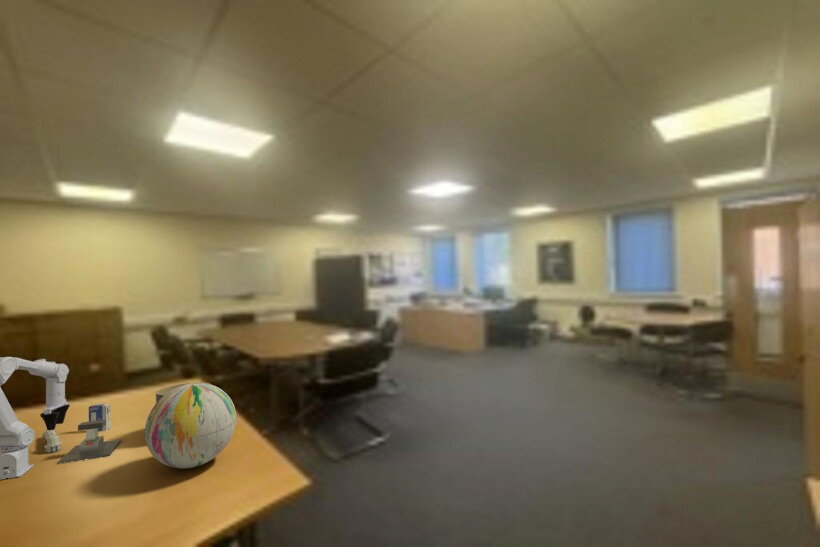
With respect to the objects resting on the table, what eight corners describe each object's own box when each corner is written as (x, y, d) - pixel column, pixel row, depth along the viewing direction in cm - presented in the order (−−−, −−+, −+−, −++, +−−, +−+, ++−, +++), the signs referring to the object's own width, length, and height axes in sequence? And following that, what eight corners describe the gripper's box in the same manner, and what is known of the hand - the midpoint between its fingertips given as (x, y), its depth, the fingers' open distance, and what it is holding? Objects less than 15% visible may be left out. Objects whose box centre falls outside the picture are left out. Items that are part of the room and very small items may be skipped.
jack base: (109, 456, 156) (109, 443, 157) (58, 464, 150) (58, 450, 151) (121, 441, 171) (121, 429, 171) (75, 447, 165) (75, 435, 165)
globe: (253, 457, 153) (252, 379, 154) (174, 493, 127) (173, 399, 128) (207, 442, 168) (206, 371, 169) (128, 472, 143) (127, 388, 143)
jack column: (102, 441, 161) (102, 422, 161) (77, 445, 158) (77, 425, 158) (105, 438, 164) (105, 419, 164) (81, 441, 161) (81, 422, 161)
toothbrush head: (56, 426, 180) (62, 432, 163) (56, 442, 180) (62, 449, 163) (40, 430, 177) (45, 436, 160) (40, 445, 176) (45, 453, 159)
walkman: (88, 432, 184) (88, 405, 184) (92, 429, 186) (92, 404, 187) (107, 430, 185) (107, 404, 185) (110, 428, 187) (110, 403, 188)
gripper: (59, 396, 157) (59, 431, 156) (75, 387, 170) (75, 419, 170) (37, 398, 154) (37, 434, 154) (54, 389, 167) (54, 422, 167)
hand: (55, 426), depth 161 cm, fingers open, 7 cm apart
